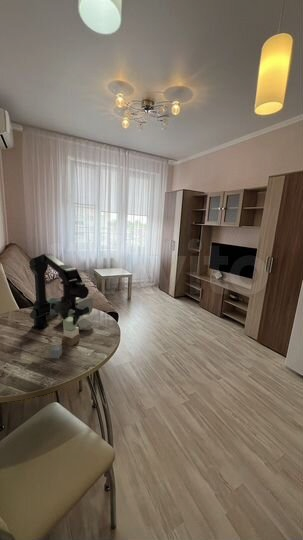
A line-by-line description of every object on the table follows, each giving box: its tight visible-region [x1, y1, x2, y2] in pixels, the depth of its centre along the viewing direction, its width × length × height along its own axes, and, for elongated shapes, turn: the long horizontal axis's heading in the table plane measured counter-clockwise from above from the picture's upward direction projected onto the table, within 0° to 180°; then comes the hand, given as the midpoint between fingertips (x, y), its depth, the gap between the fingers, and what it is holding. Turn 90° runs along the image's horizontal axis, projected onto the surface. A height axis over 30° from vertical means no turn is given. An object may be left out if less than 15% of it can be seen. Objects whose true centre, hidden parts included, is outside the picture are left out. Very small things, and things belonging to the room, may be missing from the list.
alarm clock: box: [58, 296, 94, 320], centre depth 138 cm, size 21×10×13 cm, turn 159°
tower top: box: [63, 326, 80, 338], centre depth 110 cm, size 5×5×4 cm
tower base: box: [61, 333, 81, 347], centre depth 111 cm, size 6×6×4 cm
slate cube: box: [48, 344, 63, 359], centre depth 99 cm, size 4×4×4 cm
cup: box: [46, 297, 61, 317], centre depth 141 cm, size 8×8×10 cm
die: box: [77, 314, 95, 331], centre depth 125 cm, size 8×9×10 cm
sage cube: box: [62, 317, 78, 330], centre depth 109 cm, size 4×4×4 cm
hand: (70, 324), depth 109 cm, fingers open, 5 cm apart
